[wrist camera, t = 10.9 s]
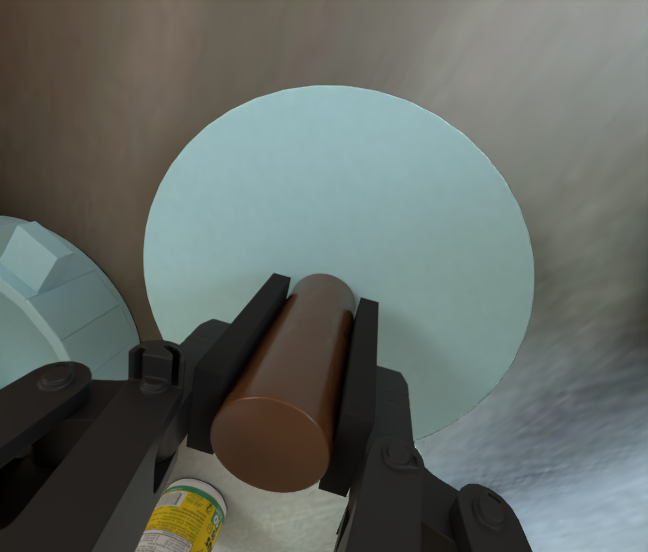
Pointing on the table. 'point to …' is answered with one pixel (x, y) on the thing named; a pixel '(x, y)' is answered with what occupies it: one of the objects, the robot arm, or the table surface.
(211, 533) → the supplement bottle
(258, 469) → the pan lid
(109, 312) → the pan
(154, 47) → the table surface
